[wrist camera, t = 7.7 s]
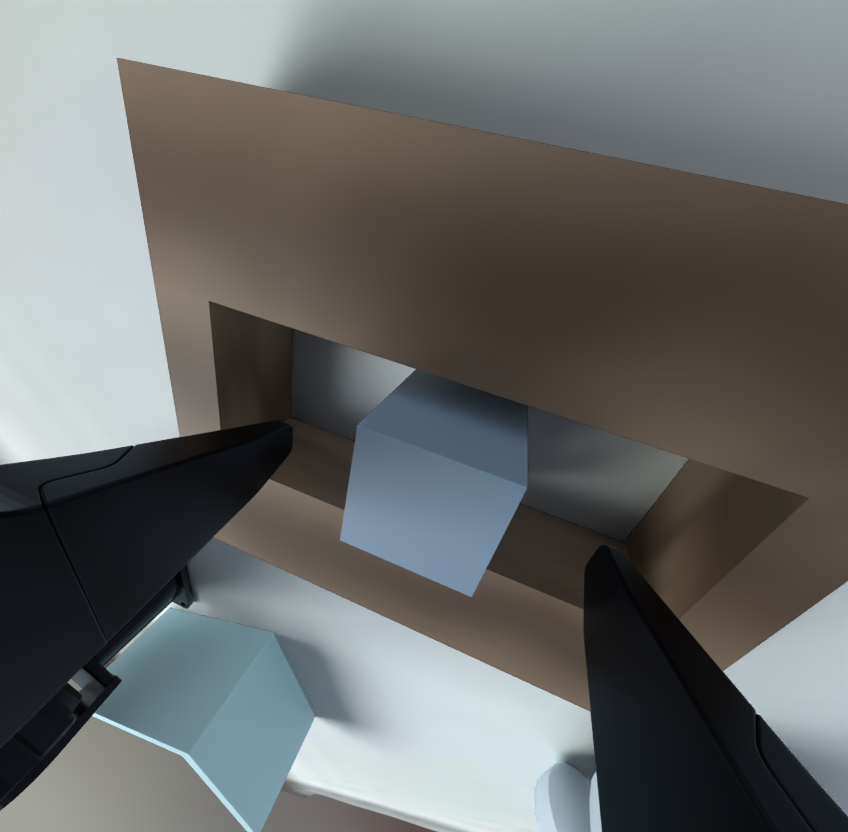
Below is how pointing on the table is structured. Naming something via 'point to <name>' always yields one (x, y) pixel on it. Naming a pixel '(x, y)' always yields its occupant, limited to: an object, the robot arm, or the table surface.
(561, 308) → the well block
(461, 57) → the table surface
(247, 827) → the right angle wall
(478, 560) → the solid blue gray block
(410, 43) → the table surface
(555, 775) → the spread jar
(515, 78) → the table surface
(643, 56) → the table surface
